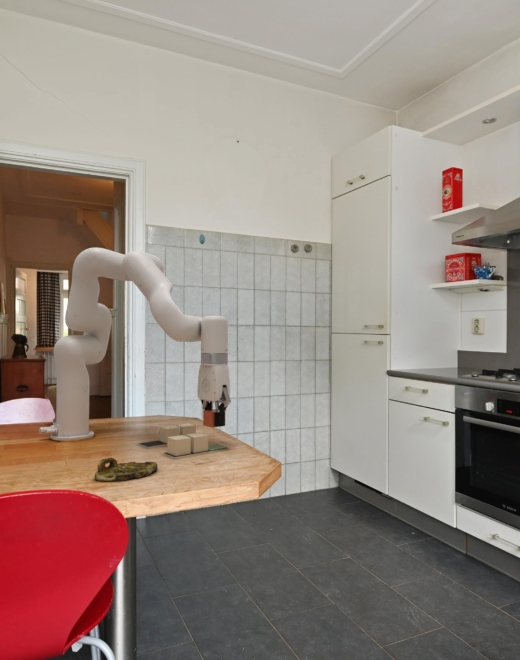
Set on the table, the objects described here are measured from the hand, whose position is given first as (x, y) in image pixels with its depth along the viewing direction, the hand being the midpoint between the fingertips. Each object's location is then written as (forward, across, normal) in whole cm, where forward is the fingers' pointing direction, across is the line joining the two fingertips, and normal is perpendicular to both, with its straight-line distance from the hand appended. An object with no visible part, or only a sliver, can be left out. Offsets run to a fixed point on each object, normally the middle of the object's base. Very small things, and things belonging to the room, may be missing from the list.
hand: (214, 424), depth 134 cm
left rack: (+7, -15, -6) cm, 18 cm away
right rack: (+7, 0, -6) cm, 9 cm away
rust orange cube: (0, 0, 0) cm, 0 cm away
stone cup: (+7, -62, -21) cm, 66 cm away
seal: (+7, +9, -30) cm, 32 cm away
